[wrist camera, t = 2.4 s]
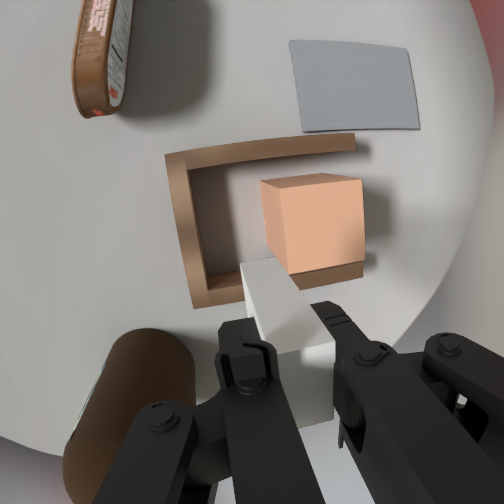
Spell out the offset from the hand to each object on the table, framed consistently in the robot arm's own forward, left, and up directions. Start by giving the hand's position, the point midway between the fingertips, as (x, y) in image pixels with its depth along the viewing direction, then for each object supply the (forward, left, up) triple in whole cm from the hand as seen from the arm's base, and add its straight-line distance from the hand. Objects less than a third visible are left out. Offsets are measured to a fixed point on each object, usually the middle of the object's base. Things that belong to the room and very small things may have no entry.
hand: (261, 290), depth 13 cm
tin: (-18, -8, -17) cm, 26 cm away
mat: (-12, +14, -16) cm, 24 cm away
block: (0, +6, -16) cm, 17 cm away
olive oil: (+14, -11, -16) cm, 24 cm away
